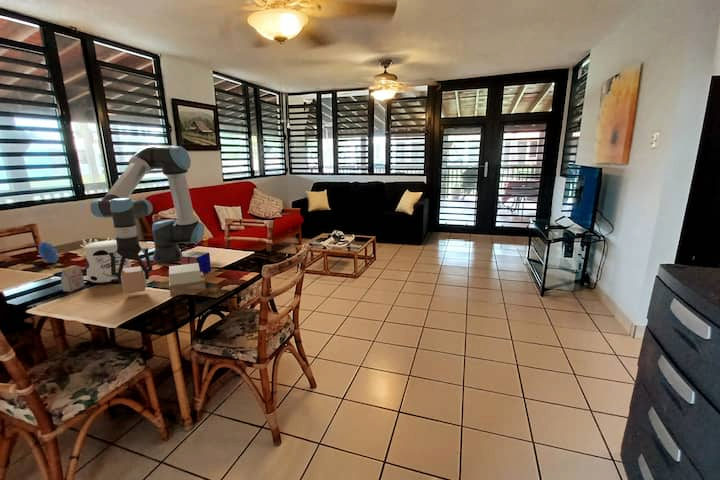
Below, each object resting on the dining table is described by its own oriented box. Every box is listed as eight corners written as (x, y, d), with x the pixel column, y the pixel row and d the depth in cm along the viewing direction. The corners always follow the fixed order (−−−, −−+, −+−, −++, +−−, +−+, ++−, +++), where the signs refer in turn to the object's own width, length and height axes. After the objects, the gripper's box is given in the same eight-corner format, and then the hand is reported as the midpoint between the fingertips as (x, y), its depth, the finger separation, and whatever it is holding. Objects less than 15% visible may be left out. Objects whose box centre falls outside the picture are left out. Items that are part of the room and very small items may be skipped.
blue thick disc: (33, 264, 183) (28, 243, 180) (46, 261, 189) (42, 240, 186) (50, 266, 181) (45, 244, 178) (63, 262, 187) (59, 241, 184)
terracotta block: (126, 288, 145) (123, 268, 143) (145, 285, 148) (142, 266, 146) (124, 293, 139) (121, 273, 137) (144, 290, 142) (141, 270, 140)
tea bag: (63, 291, 148) (58, 269, 145) (77, 285, 154) (73, 265, 152) (70, 291, 147) (66, 270, 145) (84, 286, 154) (80, 265, 152)
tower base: (170, 286, 156) (169, 276, 155) (203, 281, 163) (202, 271, 161) (170, 297, 144) (169, 286, 143) (206, 291, 151) (205, 280, 150)
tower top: (170, 276, 154) (169, 266, 153) (199, 272, 160) (198, 262, 158) (170, 285, 144) (168, 274, 143) (201, 280, 149) (199, 270, 148)
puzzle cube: (199, 276, 168) (197, 257, 166) (181, 275, 170) (179, 256, 167) (211, 270, 177) (209, 252, 175) (194, 269, 179) (192, 251, 177)
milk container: (119, 286, 154) (113, 248, 150) (79, 286, 153) (72, 248, 149) (140, 273, 171) (135, 239, 167) (104, 274, 170) (98, 239, 165)
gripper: (94, 240, 130) (105, 295, 136) (154, 235, 139) (162, 287, 145) (98, 236, 136) (108, 289, 142) (155, 231, 146) (162, 281, 151)
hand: (135, 288), depth 143 cm, fingers closed on terracotta block, 7 cm apart
